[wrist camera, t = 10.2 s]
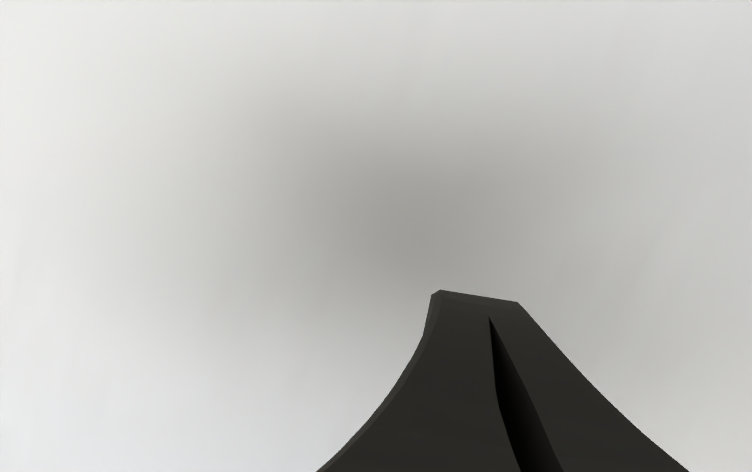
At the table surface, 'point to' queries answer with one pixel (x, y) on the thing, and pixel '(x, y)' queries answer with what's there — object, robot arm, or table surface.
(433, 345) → the robot arm
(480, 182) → the table surface
